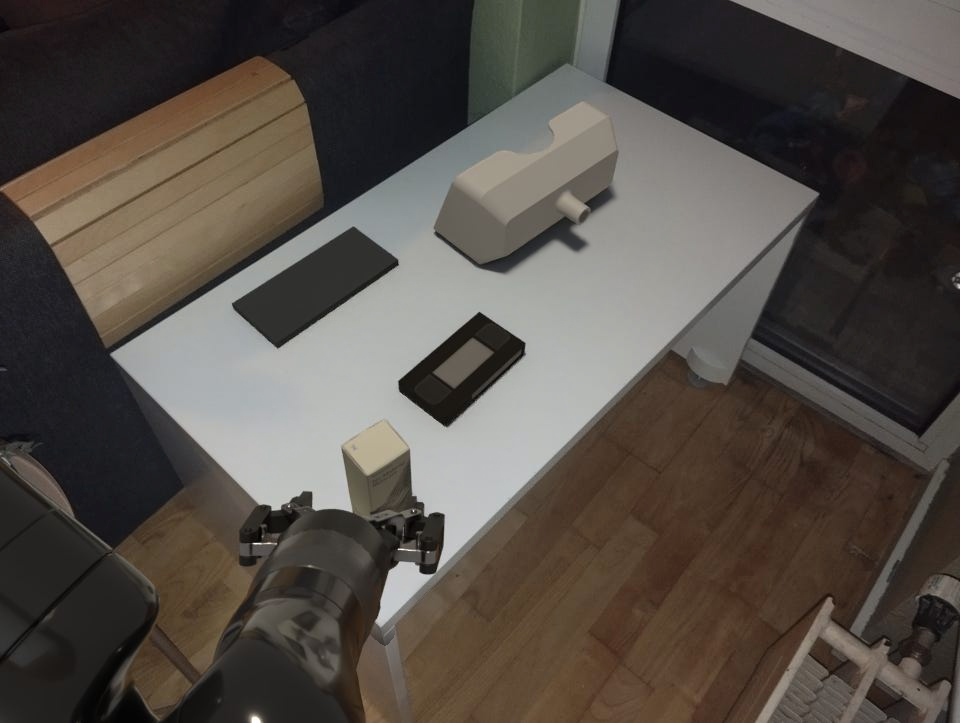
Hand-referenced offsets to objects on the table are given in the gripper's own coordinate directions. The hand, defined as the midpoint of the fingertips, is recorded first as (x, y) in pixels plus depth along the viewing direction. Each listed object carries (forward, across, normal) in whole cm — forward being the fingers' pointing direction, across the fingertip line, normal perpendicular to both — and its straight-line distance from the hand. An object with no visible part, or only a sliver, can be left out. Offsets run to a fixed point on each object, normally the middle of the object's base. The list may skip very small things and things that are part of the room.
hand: (360, 505), depth 63 cm
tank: (+49, -16, -26) cm, 58 cm away
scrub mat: (+39, +12, -16) cm, 44 cm away
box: (+17, 0, +6) cm, 18 cm away
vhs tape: (+30, -8, -7) cm, 32 cm away
